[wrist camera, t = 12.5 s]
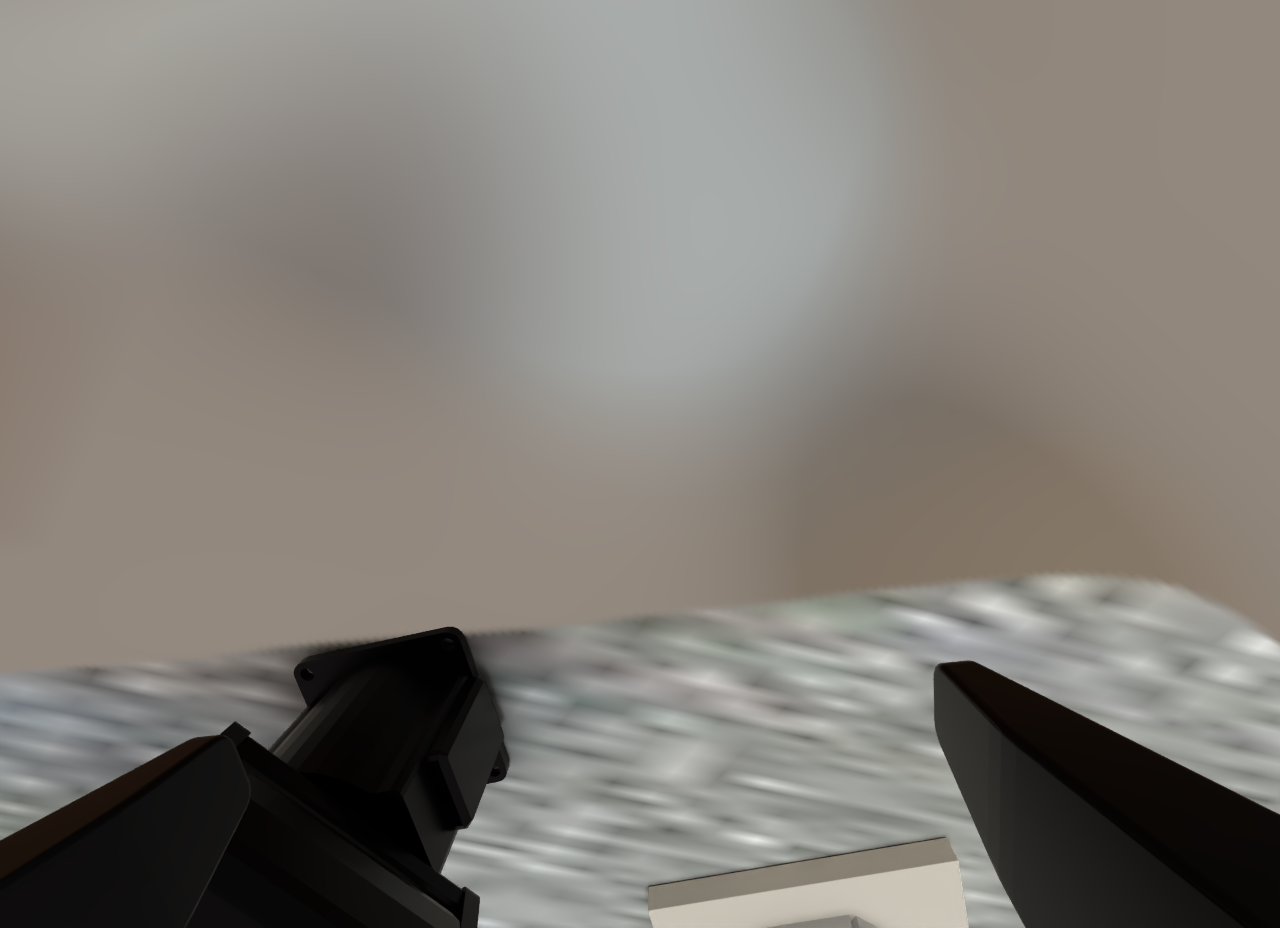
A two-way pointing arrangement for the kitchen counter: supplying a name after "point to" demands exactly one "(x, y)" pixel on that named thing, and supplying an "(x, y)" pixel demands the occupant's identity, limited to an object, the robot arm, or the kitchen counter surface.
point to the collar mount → (825, 893)
